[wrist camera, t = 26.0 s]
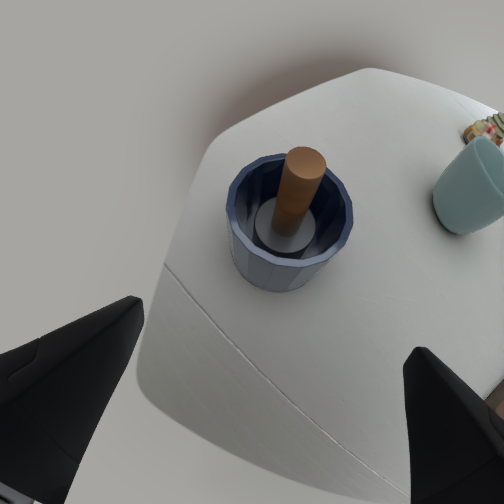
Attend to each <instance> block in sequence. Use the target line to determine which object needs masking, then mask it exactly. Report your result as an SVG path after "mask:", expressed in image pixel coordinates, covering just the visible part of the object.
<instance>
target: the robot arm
mask: <svg viewBox="0 0 504 504" xmlns="http://www.w3.org/2000/svg"><path fill="white" fill-rule="evenodd" d="M143 325H144V310H143V301H142V299H141V298H138V297H134V296H127V297H125V298H123V299H121V300H119V301H116V302H114V303H112V304H110V305H108V306H106V307H103V308H101V309H100V310H97V311H95V312H93V313H90V314H88V315H86V316H84V317H82V318H80V319H78V320H76V321H74V322H71V323H69V324H67V325H65V326H63V327H61V328H58V329H56V330H54V331H52V332H50V333H48V334H46V335H44V336H42V337H41V338H37V339H35V340H33V341H31V342H29V343H27V344H24V345H22V346H20V347H18V348H16V349H13V350H10V351H8V352H5V353H3V354H0V504H33V503H34V501H35V500H36V501H38V502H40V503H42V504H64V502H65V500H66V497H67V495H68V492H69V489H70V487H71V484H72V482H73V479H74V477H75V475H76V472H77V470H78V467H79V464H80V462H81V460H82V458H83V455H84V453H85V451H86V449H87V446H88V444H89V442H90V440H91V438H92V435H93V433H94V431H95V429H96V427H97V425H98V423H99V421H100V418H101V416H102V414H103V412H104V410H105V408H106V406H107V404H108V402H109V400H110V398H111V396H112V394H113V392H114V390H115V388H116V386H117V384H118V382H119V380H120V378H121V376H122V374H123V373H124V371H125V369H126V367H127V365H128V362H129V360H130V357H131V355H132V352H133V350H134V347H135V345H136V342H137V340H138V337H139V335H140V332H141V330H142V327H143ZM403 378H404V396H405V411H406V419H407V428H408V439H409V452H410V473H411V504H504V420H503V419H502V418H501V417H500V416H499V415H498V414H497V413H496V412H495V411H494V410H493V409H492V408H491V407H490V406H488V404H487V403H486V402H485V401H484V400H483V399H481V398H480V397H479V396H478V395H477V394H476V393H475V392H474V391H473V390H472V389H471V388H470V387H469V386H468V385H467V384H466V383H465V382H464V381H463V380H462V379H460V378H459V377H458V376H457V375H456V374H455V373H454V372H453V371H452V370H451V369H450V368H449V367H448V366H446V365H445V364H444V363H443V362H442V361H441V360H440V359H439V358H438V357H437V356H435V355H434V354H433V353H432V352H431V351H430V350H429V349H428V348H426V347H416V348H414V349H413V351H412V352H411V354H410V355H409V357H408V358H407V360H406V361H405V363H404V365H403Z"/></svg>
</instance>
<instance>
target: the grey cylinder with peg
mask: <svg viewBox="0 0 504 504" xmlns="http://www.w3.org/2000/svg"><path fill="white" fill-rule="evenodd" d="M325 171H326V162H325V159H324V157H323V156H322V155H321V154H320V153H319V152H318V151H316V150H314V149H312V148H309V147H296V148H294V149H292V150H290V151H289V152H288V154H287V155H286V159H285V163H284V168H283V172H282V177H281V181H280V185H279V190H278V194H277V197H275V198H271V199H269V200H267V201H266V202H264V203H263V204H262V205H261V206H260V207H259V209H258V210H257V212H256V214H255V218H254V227H253V238H252V242H253V243H254V245H255V246H257V247H259V248H261V249H263V250H265V251H267V252H269V253H271V254H272V255H274V256H276V257H282V258H291V259H300V258H301V257H302V255H303V254H304V252H305V251H306V249H307V248H308V246H309V245H310V243H311V242H312V240H313V238H314V236H315V232H316V222H315V218H314V216H313V214H312V212H311V210H310V209H309V206H310V204H311V202H312V200H313V198H314V195H315V193H316V191H317V189H318V187H319V184H320V182H321V180H322V178H323V175H324V173H325Z"/></svg>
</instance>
